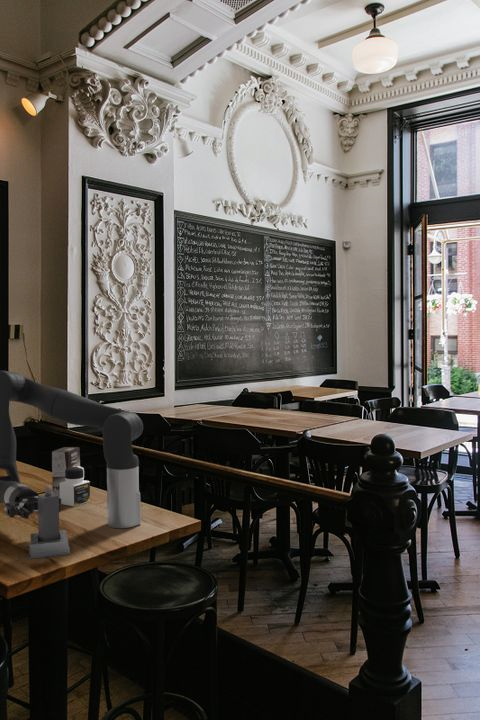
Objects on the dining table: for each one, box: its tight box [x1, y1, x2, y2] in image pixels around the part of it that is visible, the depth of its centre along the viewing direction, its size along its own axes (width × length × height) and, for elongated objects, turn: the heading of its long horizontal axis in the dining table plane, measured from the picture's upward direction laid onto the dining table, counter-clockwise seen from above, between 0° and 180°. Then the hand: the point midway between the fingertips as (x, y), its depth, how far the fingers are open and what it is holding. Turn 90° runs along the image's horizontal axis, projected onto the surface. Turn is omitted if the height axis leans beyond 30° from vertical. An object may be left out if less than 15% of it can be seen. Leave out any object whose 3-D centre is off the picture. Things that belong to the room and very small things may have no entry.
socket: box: [28, 529, 71, 560], centre depth 156 cm, size 10×10×3 cm
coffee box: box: [51, 446, 81, 498], centre depth 210 cm, size 9×6×16 cm
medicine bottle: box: [59, 466, 91, 507], centre depth 199 cm, size 7×7×12 cm
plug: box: [37, 485, 60, 542], centre depth 156 cm, size 4×4×16 cm
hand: (43, 511), depth 158 cm, fingers open, 8 cm apart
